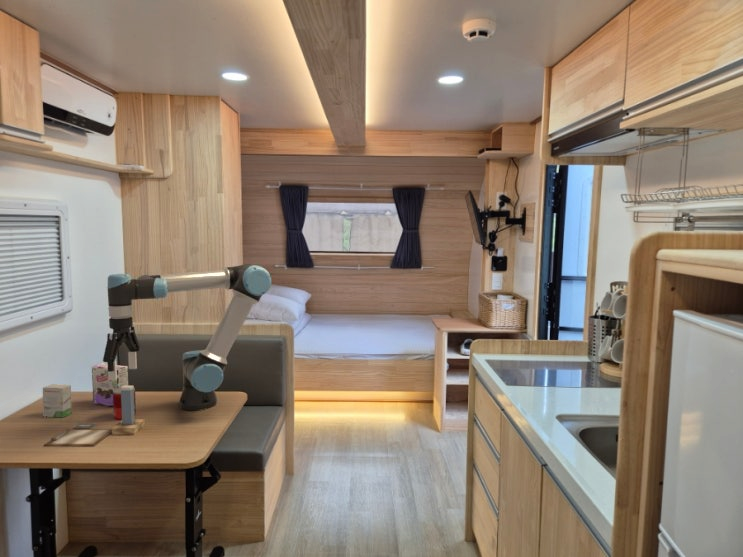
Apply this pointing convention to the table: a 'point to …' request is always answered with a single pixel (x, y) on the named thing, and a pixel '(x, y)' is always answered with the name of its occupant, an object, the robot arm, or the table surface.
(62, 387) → the ink box
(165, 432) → the table surface
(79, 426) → the plate
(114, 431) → the pen stand
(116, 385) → the candy box
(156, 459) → the table surface
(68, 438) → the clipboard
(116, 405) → the canned food
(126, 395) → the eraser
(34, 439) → the table surface
